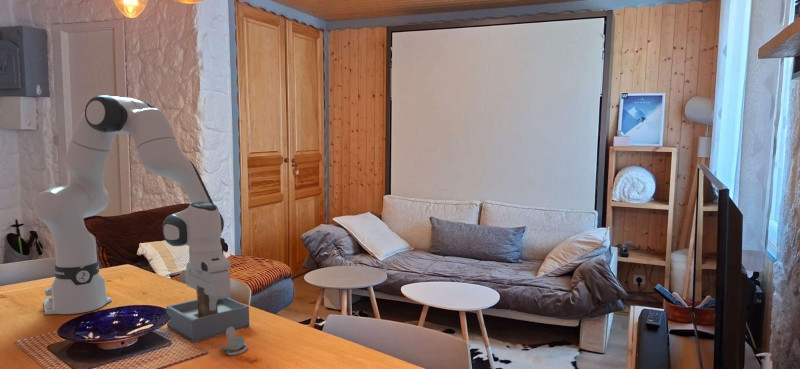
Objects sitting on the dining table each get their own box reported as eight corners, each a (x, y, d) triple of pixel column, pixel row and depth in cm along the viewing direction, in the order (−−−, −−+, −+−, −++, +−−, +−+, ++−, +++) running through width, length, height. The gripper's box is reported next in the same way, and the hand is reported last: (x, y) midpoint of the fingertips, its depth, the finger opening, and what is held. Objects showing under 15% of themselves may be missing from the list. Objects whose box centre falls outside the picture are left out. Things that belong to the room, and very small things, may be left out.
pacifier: (253, 348, 143) (234, 344, 145) (253, 325, 142) (234, 321, 144) (235, 359, 136) (215, 354, 138) (234, 334, 135) (215, 330, 138)
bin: (167, 326, 158) (166, 306, 157) (221, 313, 169) (220, 294, 169) (192, 342, 146) (192, 320, 145) (249, 326, 157) (248, 306, 157)
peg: (198, 319, 157) (196, 285, 156) (211, 316, 160) (210, 282, 159) (204, 323, 155) (203, 288, 154) (217, 319, 157) (216, 285, 156)
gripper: (179, 255, 161) (181, 301, 162) (211, 268, 146) (213, 318, 148) (200, 252, 165) (201, 297, 167) (233, 264, 151) (235, 313, 152)
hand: (207, 307), depth 157 cm, fingers closed on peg, 4 cm apart
